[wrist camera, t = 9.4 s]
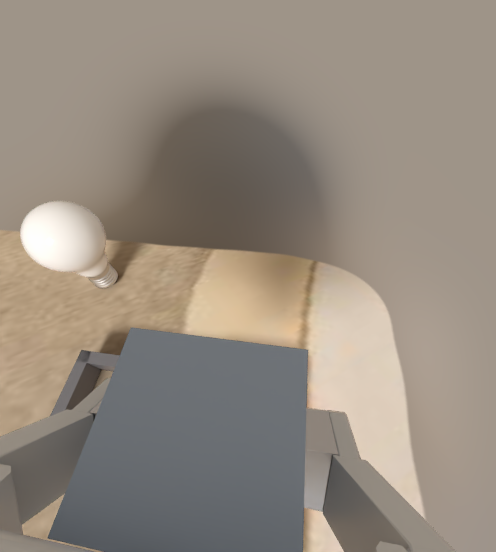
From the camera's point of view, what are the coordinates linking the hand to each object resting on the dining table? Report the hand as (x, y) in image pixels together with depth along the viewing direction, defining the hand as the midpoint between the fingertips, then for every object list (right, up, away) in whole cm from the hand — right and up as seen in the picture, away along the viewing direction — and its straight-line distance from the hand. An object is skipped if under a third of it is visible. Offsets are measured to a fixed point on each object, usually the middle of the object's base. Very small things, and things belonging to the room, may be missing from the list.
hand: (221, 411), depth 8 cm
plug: (0, -3, +3) cm, 4 cm away
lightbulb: (-15, +4, +22) cm, 27 cm away
